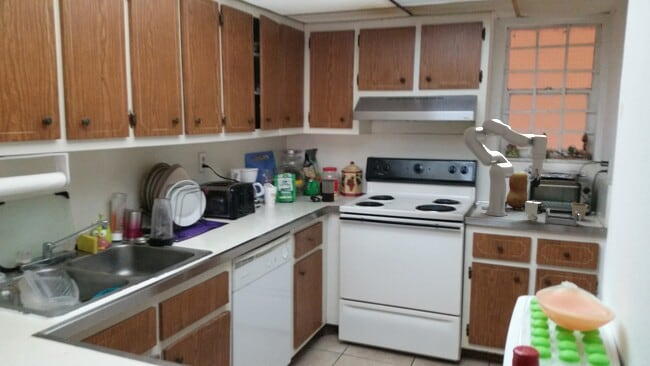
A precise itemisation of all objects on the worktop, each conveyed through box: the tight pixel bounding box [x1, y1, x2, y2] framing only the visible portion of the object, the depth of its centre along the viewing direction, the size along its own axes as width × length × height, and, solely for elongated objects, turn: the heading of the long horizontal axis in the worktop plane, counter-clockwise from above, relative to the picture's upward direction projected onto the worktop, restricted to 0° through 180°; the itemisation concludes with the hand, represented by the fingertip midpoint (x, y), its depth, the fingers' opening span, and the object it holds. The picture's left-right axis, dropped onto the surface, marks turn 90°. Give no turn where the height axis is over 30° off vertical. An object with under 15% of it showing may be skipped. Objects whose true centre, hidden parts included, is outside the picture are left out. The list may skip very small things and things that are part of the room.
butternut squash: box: [505, 170, 529, 210], centre depth 336 cm, size 14×13×25 cm
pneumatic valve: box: [521, 199, 546, 222], centre depth 300 cm, size 6×12×12 cm, turn 39°
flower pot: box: [570, 202, 589, 220], centre depth 308 cm, size 9×9×9 cm
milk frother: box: [309, 178, 336, 203], centre depth 357 cm, size 14×16×15 cm
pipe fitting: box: [544, 207, 582, 227], centre depth 294 cm, size 18×10×7 cm, turn 61°
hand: (536, 186), depth 298 cm, fingers open, 9 cm apart
